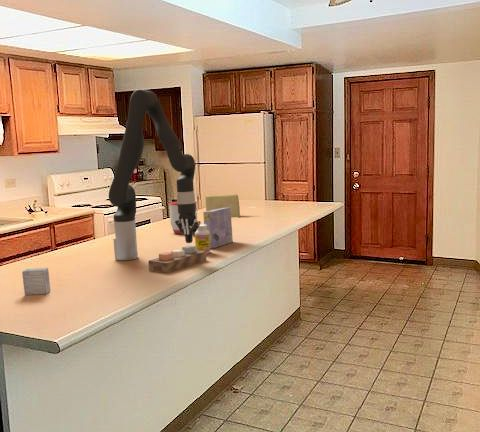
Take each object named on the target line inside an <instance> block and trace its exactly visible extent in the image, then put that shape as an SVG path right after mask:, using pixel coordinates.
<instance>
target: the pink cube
mask: <svg viewBox="0 0 480 432" xmlns="http://www.w3.org/2000/svg"><path fill="white" fill-rule="evenodd" d="M158 258H159V260H161V261H169V260H172V259H173V253H171V252H168V251H164V252H161V253H158Z"/></svg>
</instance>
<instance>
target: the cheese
mask: <svg viewBox="0 0 480 432" xmlns="http://www.w3.org/2000/svg"><path fill="white" fill-rule="evenodd" d="M229 207H230V208H231V217H238V218H240V216H241V213H240V200H239V195H238V194H237V193H236V194H235V193H233V194H213V193H212V194H207V195H205V212H206V211H211V210H216V209H221V208H229Z"/></svg>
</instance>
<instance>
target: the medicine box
mask: <svg viewBox="0 0 480 432" xmlns="http://www.w3.org/2000/svg"><path fill="white" fill-rule="evenodd" d="M49 273H50V272H49V268H48V267H38V268H36V267H35V268H34V267H33V268H26V269H24V270H23V271H22V272H21V274H22V282H23V283H22V284H23V291H24V292H23V293H24V296H30V295H31V296H33V295H34V294H35V295H48V294H49V293H50V291H51V282H50V274H49ZM32 294H33V295H32ZM35 295H34V296H35Z"/></svg>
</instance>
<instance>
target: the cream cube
mask: <svg viewBox="0 0 480 432" xmlns="http://www.w3.org/2000/svg"><path fill="white" fill-rule="evenodd" d="M170 253H173V257H177V258H179V257H182V256H185V251H184V250H182V249H173V250H171V251H170Z"/></svg>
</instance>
